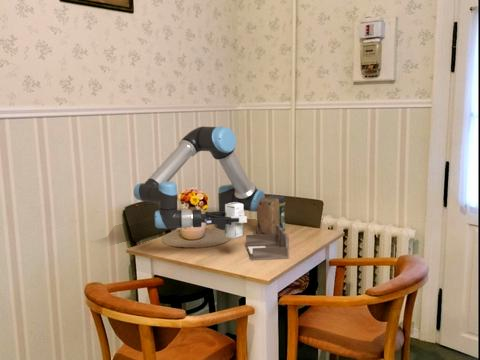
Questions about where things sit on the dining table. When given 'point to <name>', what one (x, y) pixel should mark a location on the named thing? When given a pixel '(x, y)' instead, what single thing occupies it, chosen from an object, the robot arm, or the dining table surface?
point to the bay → (268, 245)
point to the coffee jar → (281, 209)
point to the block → (268, 215)
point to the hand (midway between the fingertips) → (245, 216)
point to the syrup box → (235, 228)
